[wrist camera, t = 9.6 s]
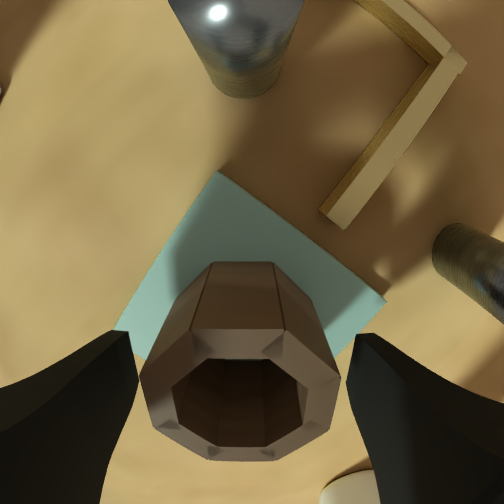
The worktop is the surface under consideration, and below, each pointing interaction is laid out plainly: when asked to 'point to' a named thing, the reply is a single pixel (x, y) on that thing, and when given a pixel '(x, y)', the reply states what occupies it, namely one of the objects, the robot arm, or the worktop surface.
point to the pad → (247, 249)
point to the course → (385, 141)
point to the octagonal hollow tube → (241, 366)
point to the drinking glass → (352, 489)
